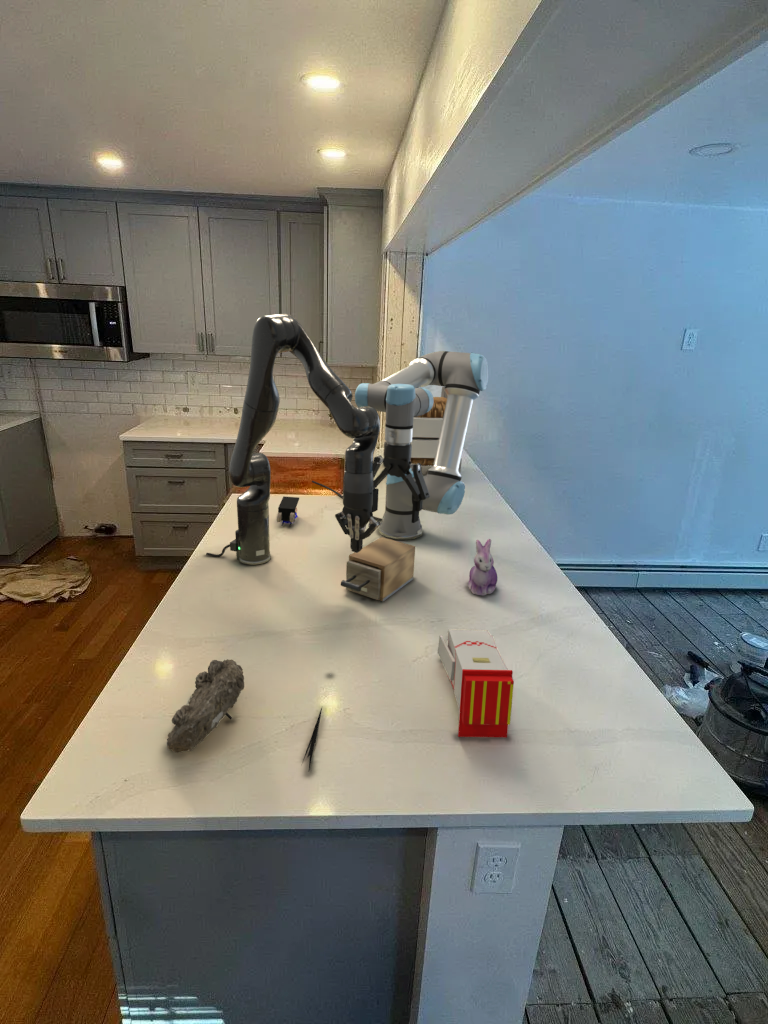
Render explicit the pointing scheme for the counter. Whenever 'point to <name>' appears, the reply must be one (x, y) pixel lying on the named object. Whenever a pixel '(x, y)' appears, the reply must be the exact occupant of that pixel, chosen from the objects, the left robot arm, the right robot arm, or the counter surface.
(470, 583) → the figurine
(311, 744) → the feather
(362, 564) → the drawer
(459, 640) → the toy
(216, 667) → the fossil
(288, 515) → the figurine character
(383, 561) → the cabinet
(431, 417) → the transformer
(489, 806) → the counter surface
